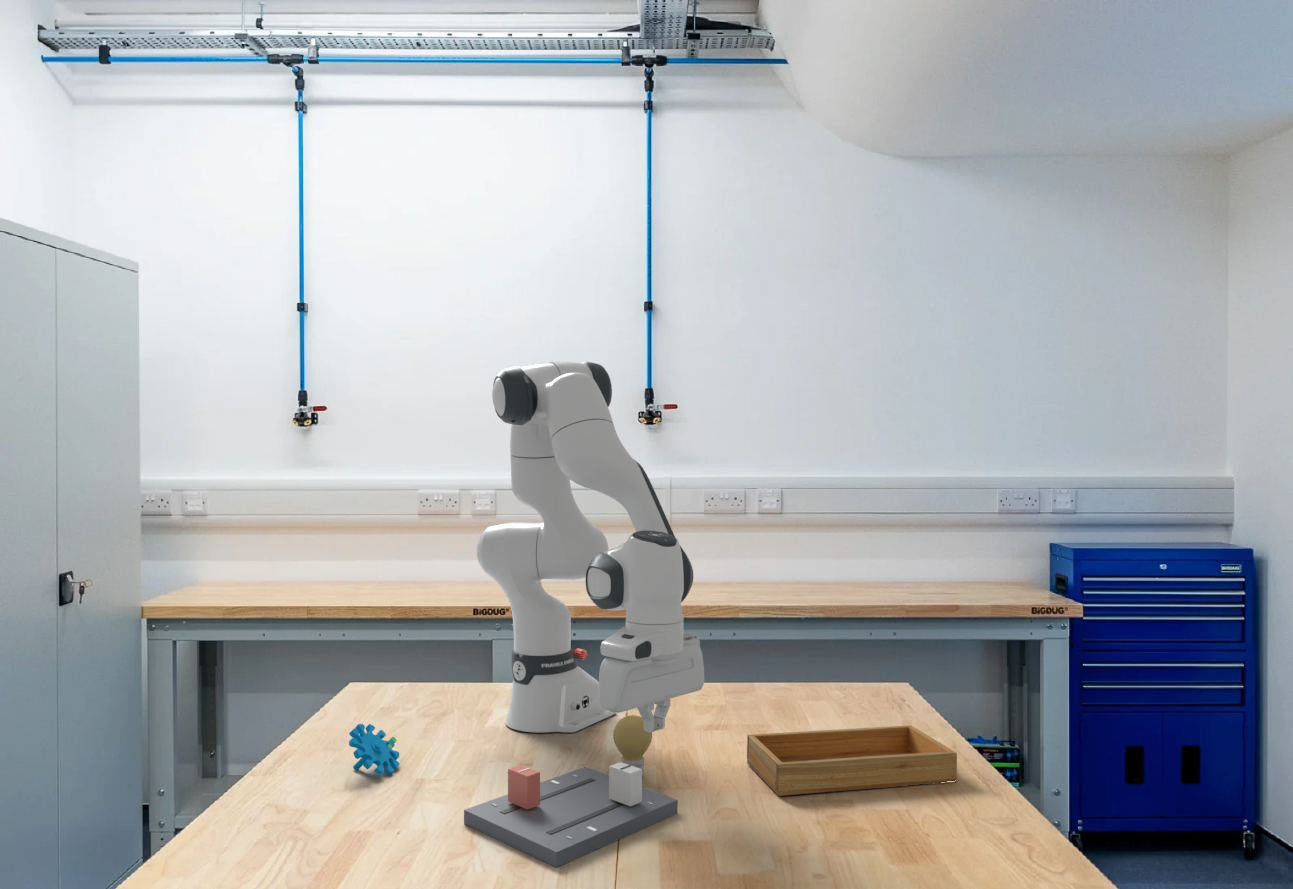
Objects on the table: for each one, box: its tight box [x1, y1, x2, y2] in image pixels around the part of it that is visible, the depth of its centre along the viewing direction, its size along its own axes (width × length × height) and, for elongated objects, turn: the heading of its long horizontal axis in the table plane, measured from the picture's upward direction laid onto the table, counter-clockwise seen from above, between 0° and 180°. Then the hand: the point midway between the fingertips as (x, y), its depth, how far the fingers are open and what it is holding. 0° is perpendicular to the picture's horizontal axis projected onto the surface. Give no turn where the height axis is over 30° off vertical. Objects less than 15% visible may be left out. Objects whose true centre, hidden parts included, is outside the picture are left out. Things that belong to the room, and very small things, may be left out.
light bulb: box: [612, 715, 653, 777], centre depth 153 cm, size 6×6×10 cm
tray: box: [746, 724, 958, 797], centre depth 155 cm, size 31×15×6 cm, turn 103°
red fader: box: [507, 764, 541, 810], centre depth 137 cm, size 2×4×5 cm, turn 47°
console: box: [463, 766, 679, 868], centre depth 137 cm, size 24×20×2 cm
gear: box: [348, 723, 400, 776], centre depth 157 cm, size 11×6×10 cm
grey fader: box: [608, 761, 643, 806], centre depth 138 cm, size 2×4×5 cm, turn 47°
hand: (654, 730), depth 142 cm, fingers closed
